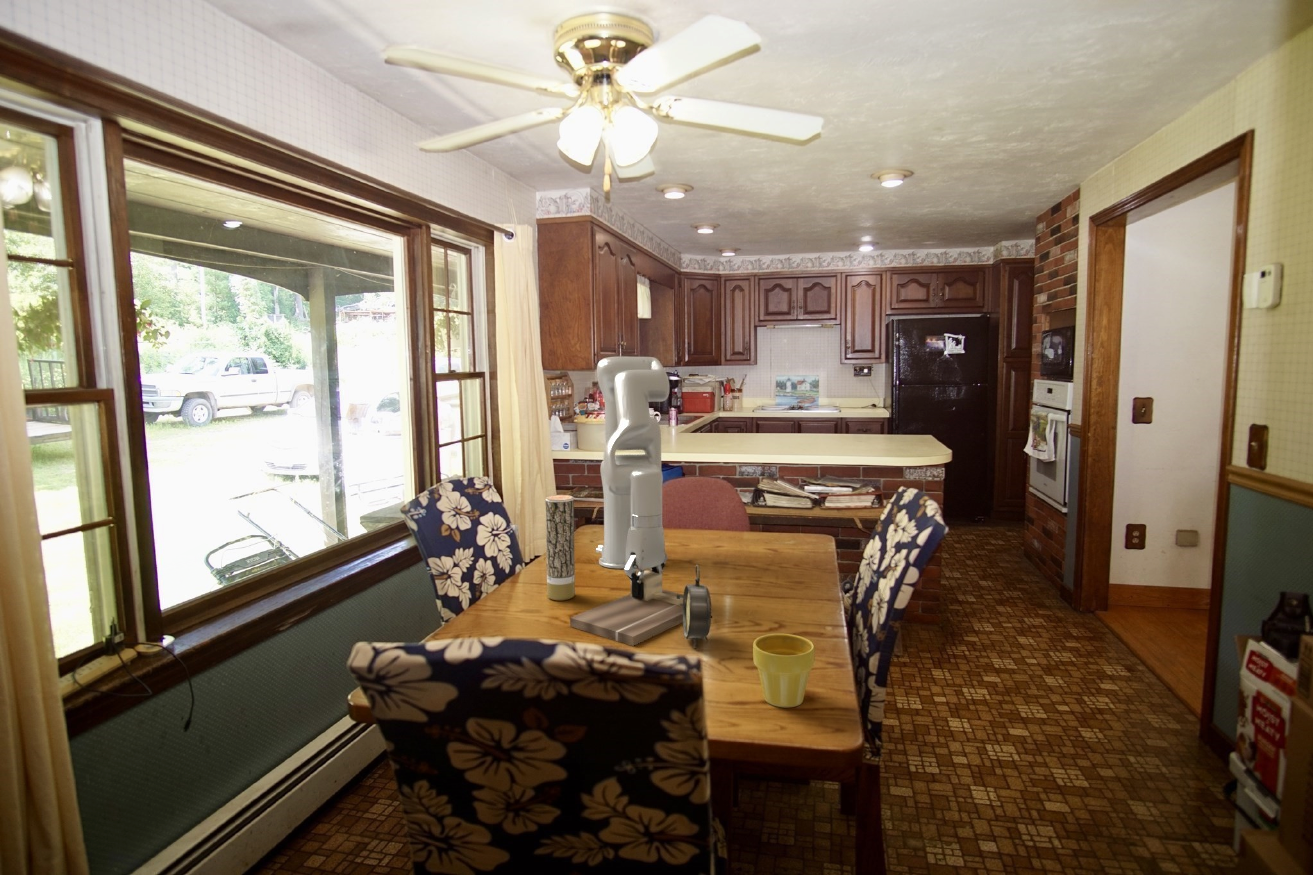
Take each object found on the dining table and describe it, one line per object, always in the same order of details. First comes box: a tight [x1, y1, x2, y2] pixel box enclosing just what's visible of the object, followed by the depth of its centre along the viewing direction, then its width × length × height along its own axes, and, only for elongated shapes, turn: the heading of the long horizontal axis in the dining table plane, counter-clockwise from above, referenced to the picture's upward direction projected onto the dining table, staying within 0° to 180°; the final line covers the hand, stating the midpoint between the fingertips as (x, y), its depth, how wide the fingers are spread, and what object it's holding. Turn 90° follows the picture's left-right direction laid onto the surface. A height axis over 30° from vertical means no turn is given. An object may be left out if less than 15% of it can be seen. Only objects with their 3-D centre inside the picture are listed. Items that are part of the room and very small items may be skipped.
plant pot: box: [752, 633, 816, 708], centre depth 120 cm, size 10×10×10 cm
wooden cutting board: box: [569, 589, 684, 647], centre depth 160 cm, size 18×28×2 cm, turn 142°
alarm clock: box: [682, 564, 713, 651], centre depth 145 cm, size 11×5×16 cm, turn 5°
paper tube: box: [545, 494, 576, 601], centre depth 174 cm, size 7×7×25 cm
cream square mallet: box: [630, 570, 683, 605], centre depth 167 cm, size 13×6×5 cm, turn 52°
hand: (646, 593), depth 170 cm, fingers closed on cream square mallet, 6 cm apart
